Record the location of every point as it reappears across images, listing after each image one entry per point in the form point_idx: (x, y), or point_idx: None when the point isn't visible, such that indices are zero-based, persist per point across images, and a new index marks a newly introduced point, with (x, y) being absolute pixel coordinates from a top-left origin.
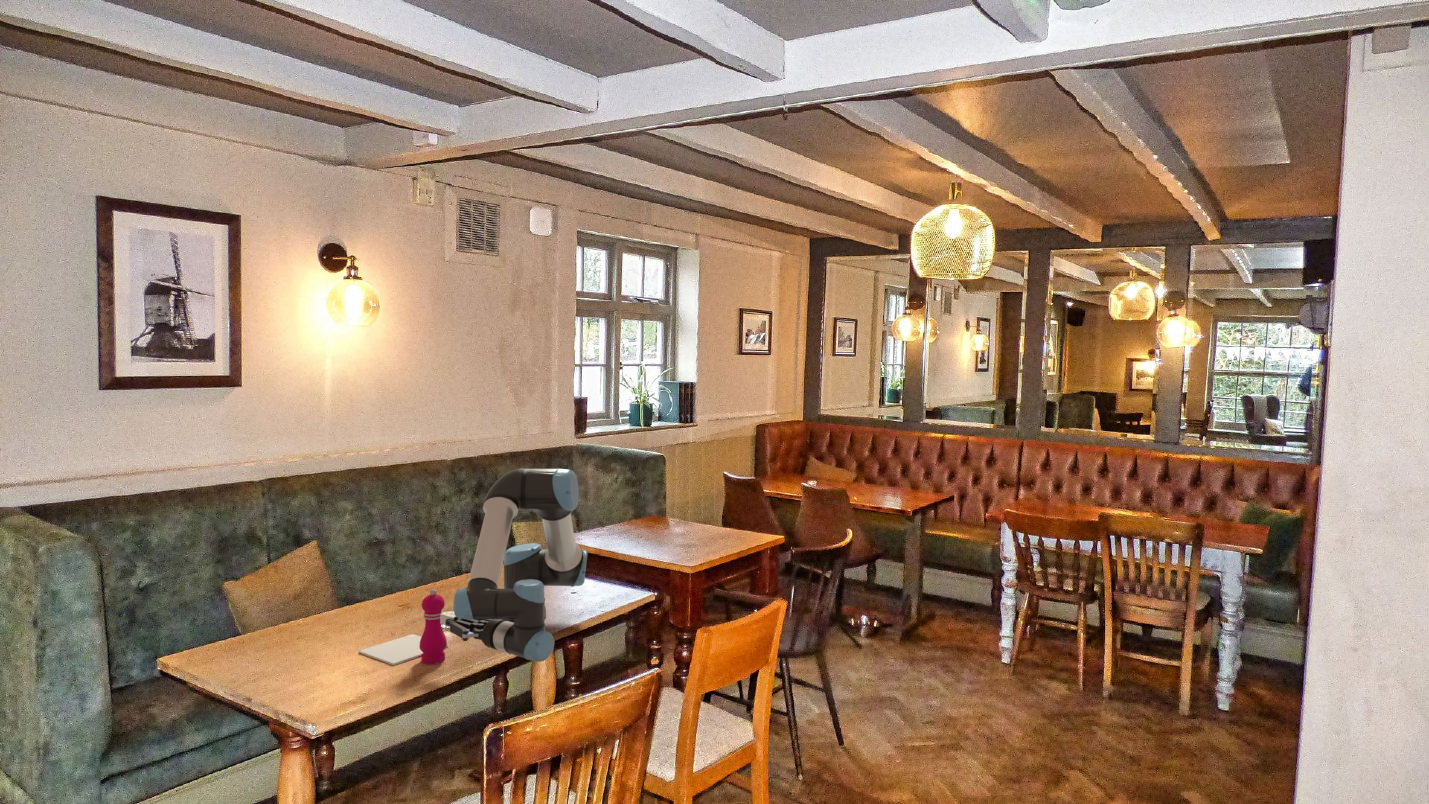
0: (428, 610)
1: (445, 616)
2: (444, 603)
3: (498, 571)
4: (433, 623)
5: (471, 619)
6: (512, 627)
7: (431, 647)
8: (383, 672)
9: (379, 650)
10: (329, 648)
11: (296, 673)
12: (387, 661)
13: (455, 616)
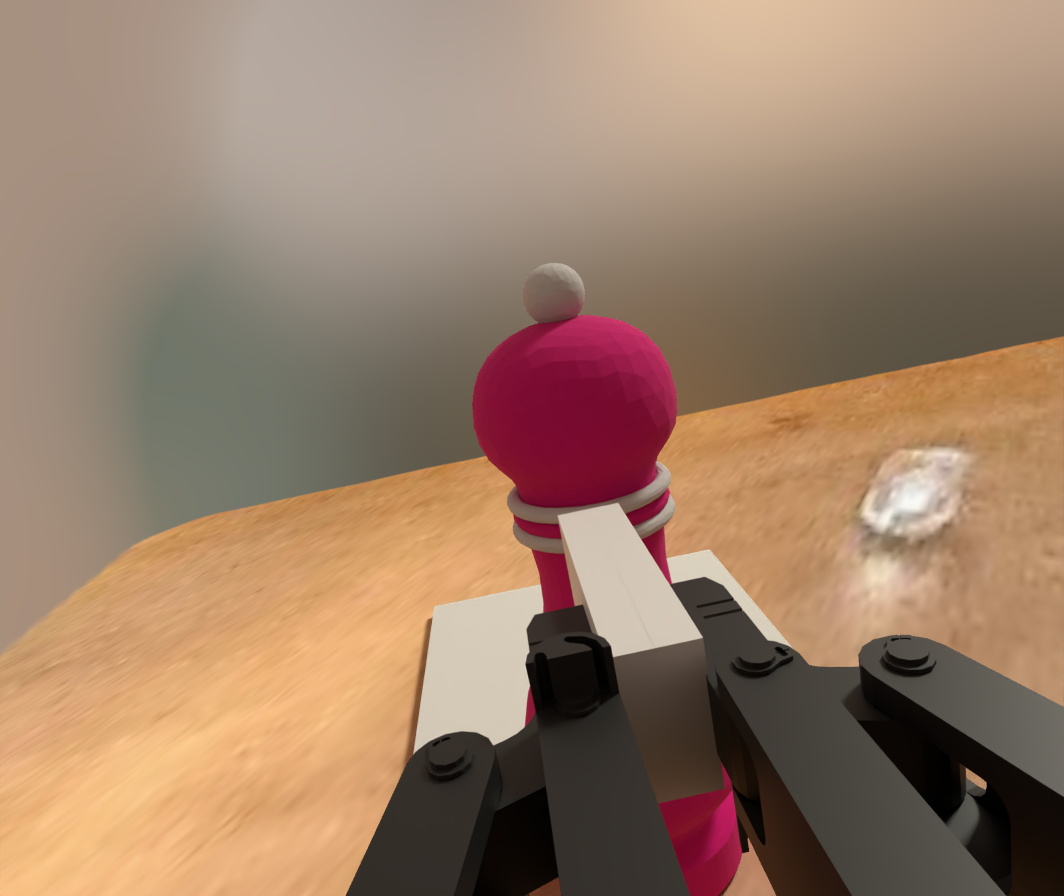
0: (498, 465)
1: (571, 562)
2: (661, 403)
3: None
4: (569, 586)
5: (883, 811)
6: None
7: None
8: (292, 854)
9: (491, 627)
10: (410, 563)
11: (145, 679)
12: (415, 740)
13: (646, 601)
